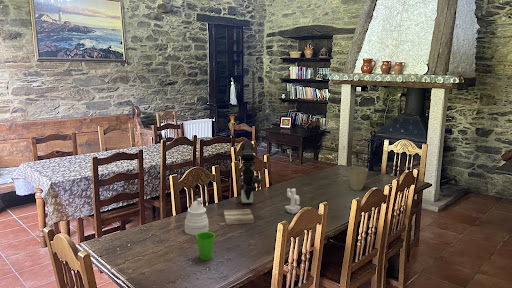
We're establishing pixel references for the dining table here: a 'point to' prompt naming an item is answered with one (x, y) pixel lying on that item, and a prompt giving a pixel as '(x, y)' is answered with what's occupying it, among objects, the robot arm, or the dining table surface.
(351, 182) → the plant pot
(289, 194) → the figurine
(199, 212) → the honey pot
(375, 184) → the dining table surface
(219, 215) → the dining table surface
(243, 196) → the sage cube
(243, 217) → the birch base
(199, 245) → the cup
